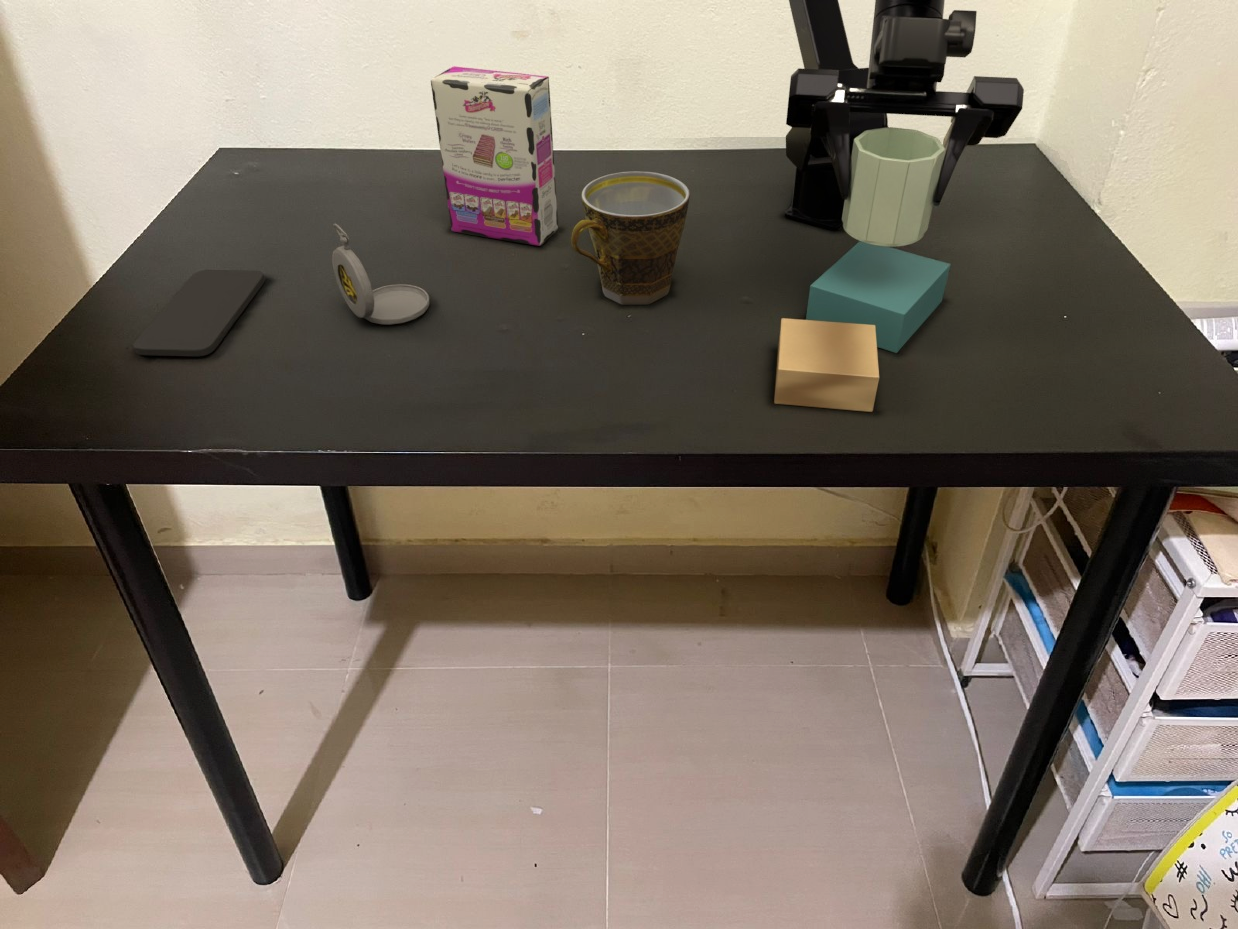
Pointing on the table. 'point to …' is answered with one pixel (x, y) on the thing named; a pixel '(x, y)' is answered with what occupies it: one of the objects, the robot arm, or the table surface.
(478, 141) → the candy bar box
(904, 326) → the box
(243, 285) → the phone
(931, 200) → the pale green faceted cup
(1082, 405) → the table surface
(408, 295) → the pocket watch
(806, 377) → the tan block
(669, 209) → the ceramic cup
